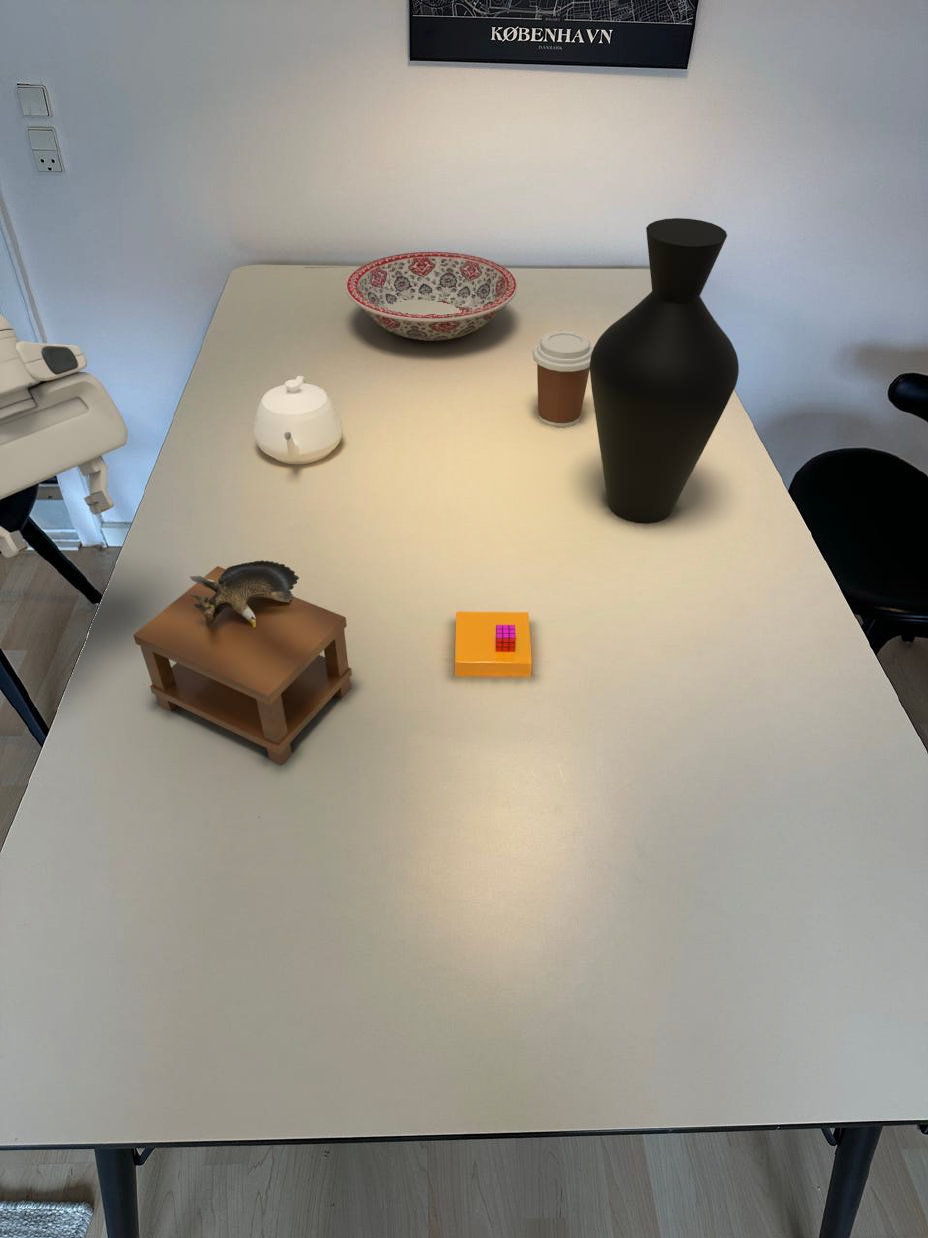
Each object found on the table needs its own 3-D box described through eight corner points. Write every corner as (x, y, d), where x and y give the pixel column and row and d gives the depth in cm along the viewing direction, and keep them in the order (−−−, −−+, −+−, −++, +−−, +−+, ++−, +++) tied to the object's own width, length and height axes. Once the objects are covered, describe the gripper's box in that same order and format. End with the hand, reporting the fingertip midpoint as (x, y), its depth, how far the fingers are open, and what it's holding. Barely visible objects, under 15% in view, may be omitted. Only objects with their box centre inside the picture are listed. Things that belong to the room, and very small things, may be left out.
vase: (733, 511, 118) (803, 236, 94) (644, 562, 110) (697, 275, 86) (635, 456, 128) (677, 194, 104) (547, 499, 119) (571, 226, 96)
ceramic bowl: (386, 285, 172) (384, 243, 167) (534, 306, 165) (537, 263, 160) (321, 350, 151) (316, 304, 146) (486, 377, 145) (488, 329, 139)
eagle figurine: (230, 651, 82) (313, 599, 85) (187, 584, 79) (273, 532, 82) (214, 642, 88) (291, 593, 91) (174, 580, 86) (254, 532, 89)
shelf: (282, 768, 86) (268, 696, 79) (156, 706, 92) (132, 634, 85) (353, 688, 94) (346, 617, 87) (233, 636, 99) (217, 565, 93)
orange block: (454, 677, 95) (455, 648, 92) (456, 625, 101) (456, 597, 98) (530, 678, 95) (533, 649, 92) (527, 626, 101) (529, 598, 98)
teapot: (340, 488, 121) (333, 420, 114) (247, 489, 121) (235, 422, 114) (347, 413, 136) (341, 350, 129) (264, 414, 135) (254, 351, 129)
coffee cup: (516, 411, 137) (520, 336, 129) (564, 395, 141) (570, 321, 132) (553, 437, 131) (559, 360, 123) (601, 420, 135) (611, 344, 127)
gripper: (-125, 412, 67) (-25, 578, 71) (95, 342, 81) (166, 483, 86) (-157, 431, 70) (-60, 587, 75) (59, 361, 85) (129, 495, 90)
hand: (62, 531), depth 81 cm, fingers open, 8 cm apart
